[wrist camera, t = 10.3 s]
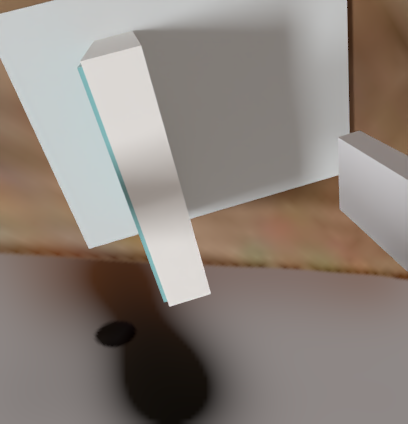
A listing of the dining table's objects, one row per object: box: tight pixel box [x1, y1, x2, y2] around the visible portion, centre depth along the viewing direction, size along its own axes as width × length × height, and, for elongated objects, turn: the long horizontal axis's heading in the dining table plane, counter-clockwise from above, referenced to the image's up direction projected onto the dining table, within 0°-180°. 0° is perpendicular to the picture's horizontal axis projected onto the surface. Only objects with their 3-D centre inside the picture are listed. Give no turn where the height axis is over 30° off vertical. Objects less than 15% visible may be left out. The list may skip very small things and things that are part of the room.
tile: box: [77, 31, 211, 306], centre depth 20 cm, size 12×2×9 cm, turn 12°
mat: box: [0, 0, 350, 249], centre depth 24 cm, size 15×20×1 cm
